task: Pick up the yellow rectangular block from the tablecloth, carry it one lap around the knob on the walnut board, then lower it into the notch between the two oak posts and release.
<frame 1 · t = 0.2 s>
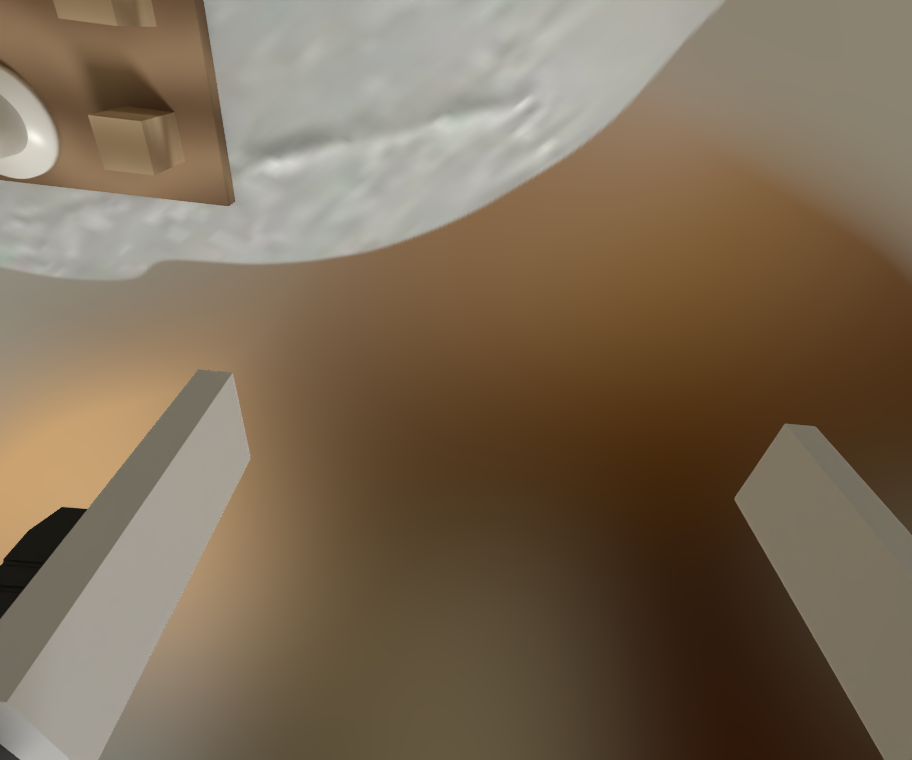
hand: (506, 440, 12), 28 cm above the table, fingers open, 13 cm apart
knob: (2, 119, 32), resting on board
board: (66, 91, 32), on the table
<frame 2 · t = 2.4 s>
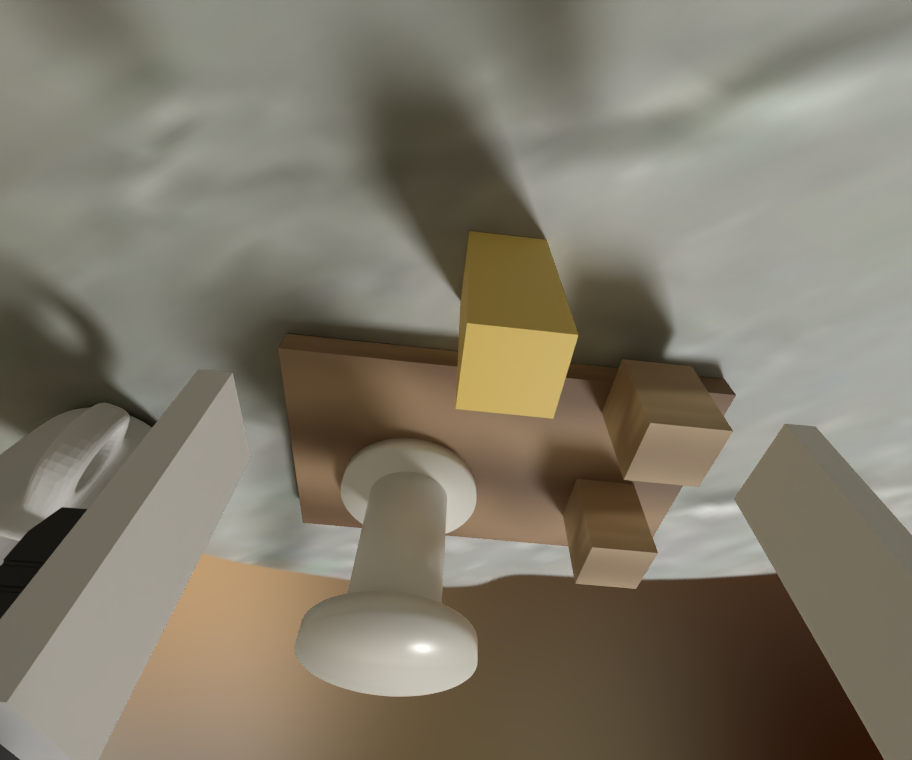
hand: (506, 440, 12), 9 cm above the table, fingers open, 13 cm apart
yellow rectangular block: (501, 271, 19), on the table
knob: (410, 486, 25), resting on board
board: (490, 450, 25), on the table
cup: (131, 426, 25), on the table
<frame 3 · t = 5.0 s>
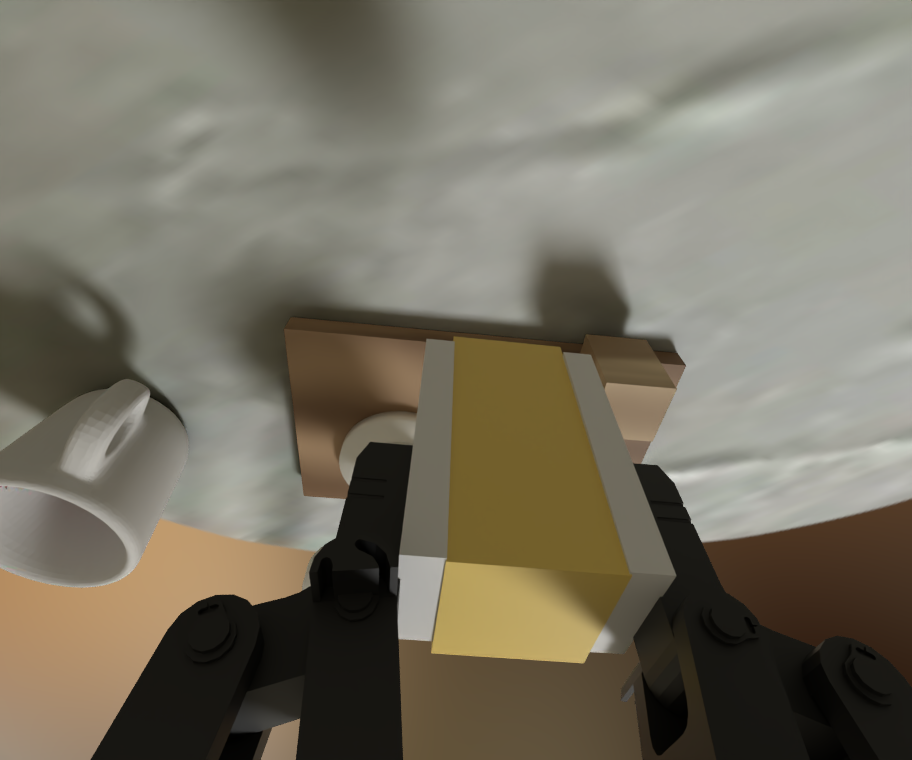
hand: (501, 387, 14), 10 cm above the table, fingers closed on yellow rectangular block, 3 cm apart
yellow rectangular block: (498, 385, 14), point 10 cm above the table, touching gripper
knob: (402, 457, 28), resting on board
board: (473, 423, 28), on the table
cup: (146, 407, 28), on the table
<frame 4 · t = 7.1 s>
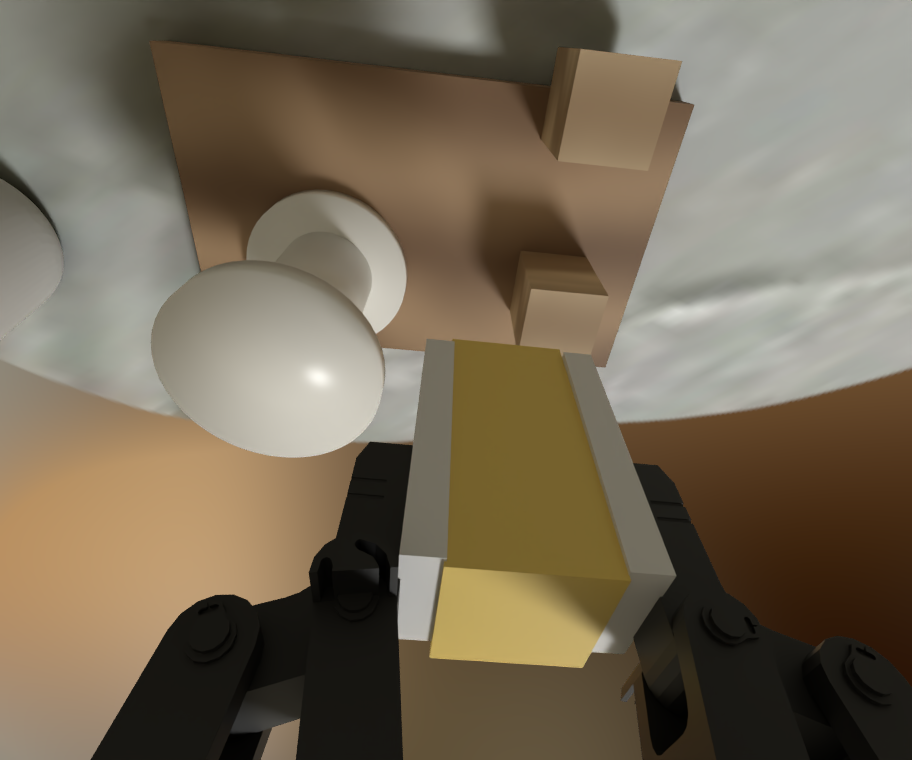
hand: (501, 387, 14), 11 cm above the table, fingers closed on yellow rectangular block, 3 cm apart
yellow rectangular block: (497, 387, 14), point 11 cm above the table, touching gripper
knob: (331, 269, 22), resting on board
board: (422, 226, 22), on the table
cup: (5, 204, 22), on the table
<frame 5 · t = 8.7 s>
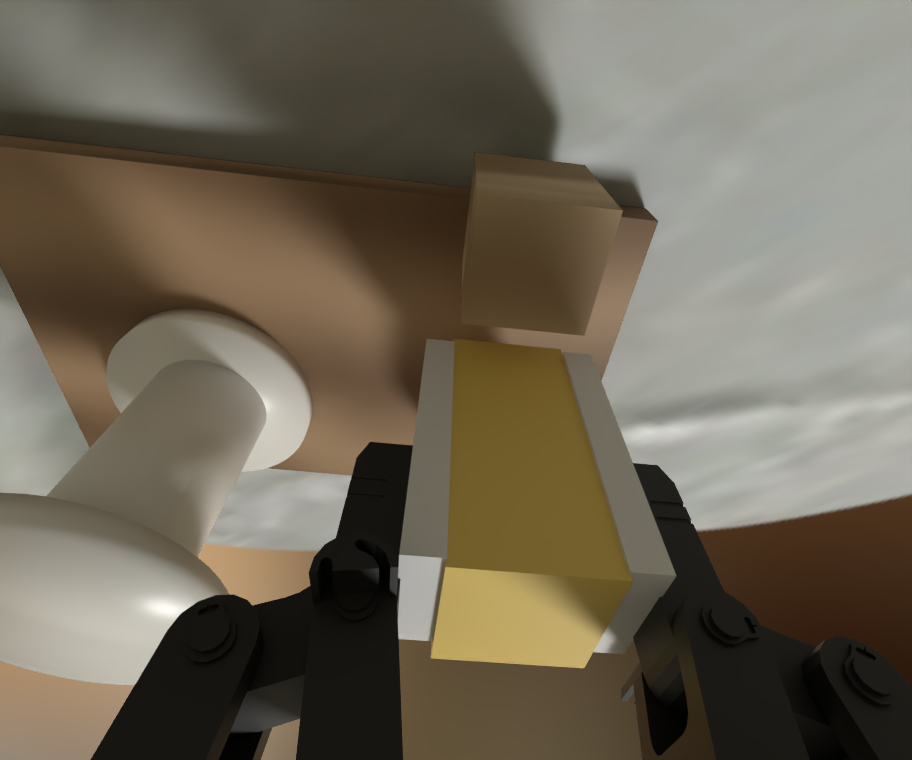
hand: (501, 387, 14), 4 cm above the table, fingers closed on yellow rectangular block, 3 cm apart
yellow rectangular block: (498, 387, 14), point 4 cm above the table, touching gripper
knob: (219, 391, 18), resting on board
board: (331, 340, 18), on the table
when the fingers open (2 cm above the table, at t = 9.4 s): yellow rectangular block stays where it is, resting on board.
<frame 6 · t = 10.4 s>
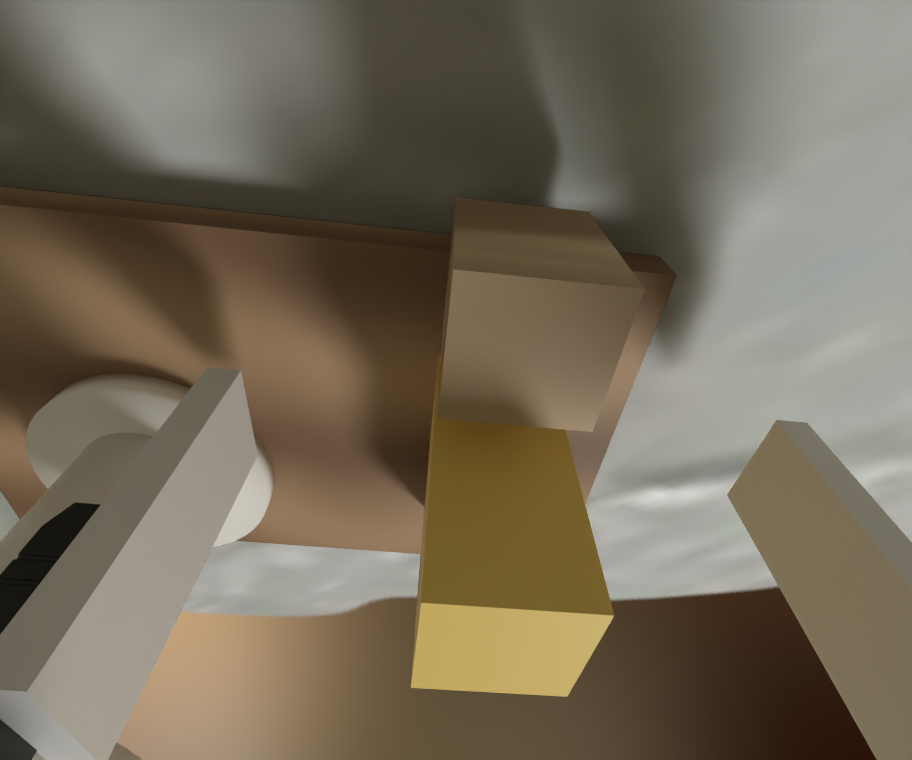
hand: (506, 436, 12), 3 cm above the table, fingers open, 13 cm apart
yellow rectangular block: (485, 401, 14), point 1 cm above the table, touching board
knob: (165, 462, 15), resting on board
board: (294, 401, 15), on the table
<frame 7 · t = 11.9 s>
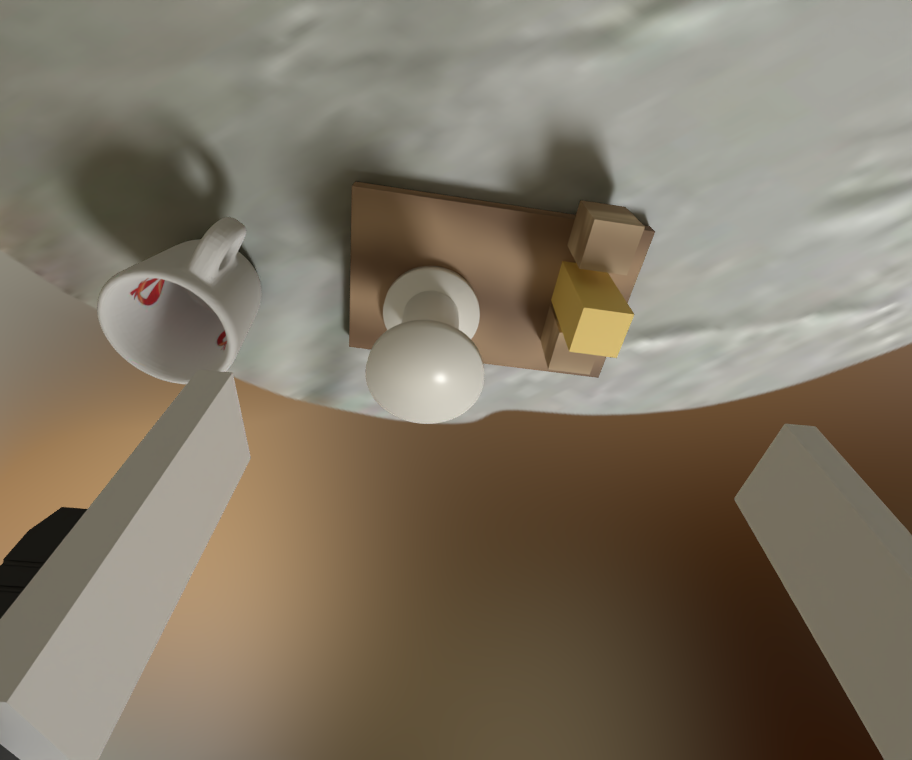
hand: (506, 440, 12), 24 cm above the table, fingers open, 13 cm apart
yellow rectangular block: (577, 283, 34), point 1 cm above the table, touching board
knob: (431, 311, 35), resting on board
board: (489, 286, 35), on the table
cup: (229, 262, 35), on the table
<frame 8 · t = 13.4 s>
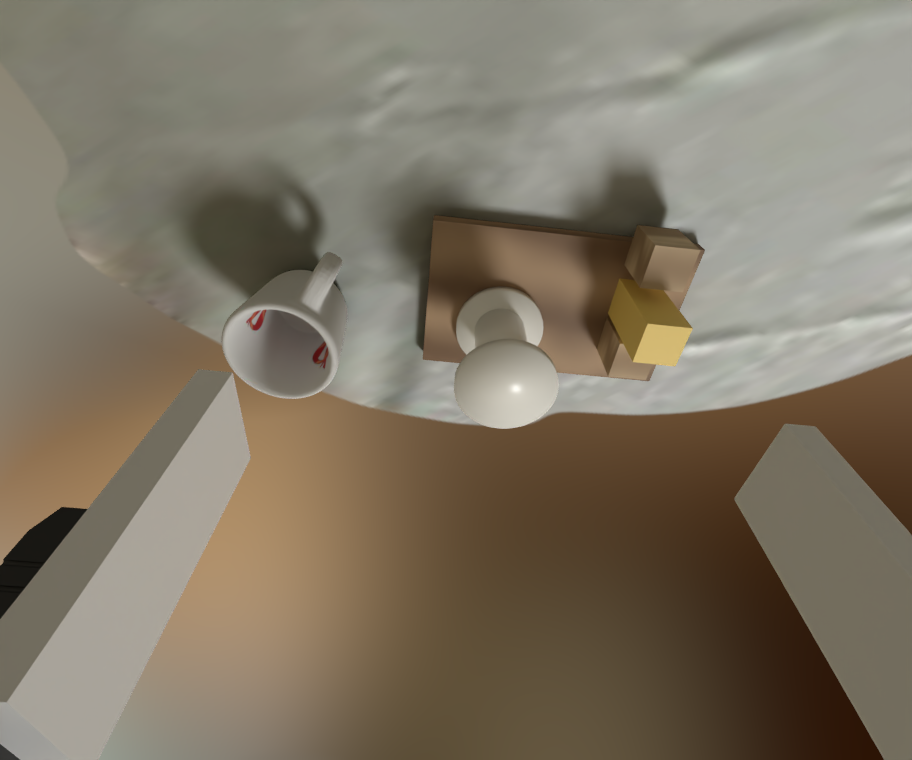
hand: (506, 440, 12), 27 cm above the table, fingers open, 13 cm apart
yellow rectangular block: (632, 298, 37), point 1 cm above the table, touching board
knob: (499, 326, 39), resting on board
board: (550, 302, 39), on the table
cup: (317, 288, 39), on the table
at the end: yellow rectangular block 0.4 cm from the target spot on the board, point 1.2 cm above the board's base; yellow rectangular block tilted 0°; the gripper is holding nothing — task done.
